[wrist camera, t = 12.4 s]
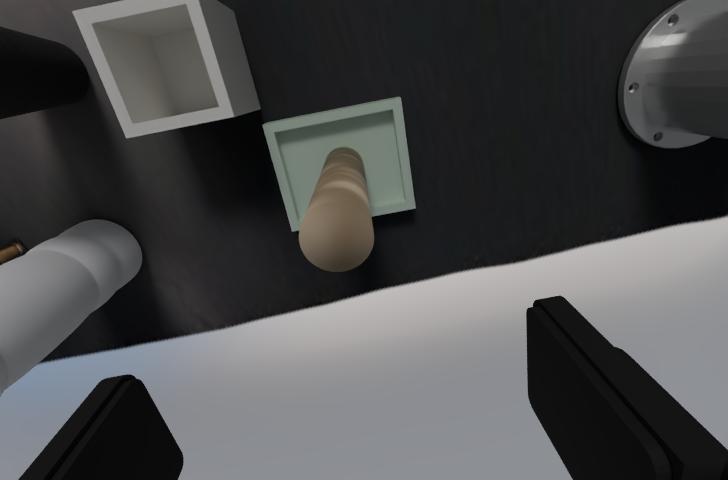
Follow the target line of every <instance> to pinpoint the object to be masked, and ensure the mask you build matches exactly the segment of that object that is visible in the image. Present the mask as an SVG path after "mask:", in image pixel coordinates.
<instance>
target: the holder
mask: <svg viewBox="0 0 728 480" xmlns="http://www.w3.org/2000/svg"><path fill="white" fill-rule="evenodd" d="M72 12H73V14H74V17H75V19H76V21H77V24H78V26H79V28H80V31H81V33H82V35H83V38H84V40H85V42H86V45H87V47H88V49H89V52H90V54H91V57H92V59H93V61H94V64H95V66H96V68H97V71H98V73H99V75H100V78H101V80H102V82H103V85H104V87H105V89H106V92H107V94H108V96H109V99H110V101H111V103H112V106H113V108H114V110H115V113H116V115H117V118H118V120H119V122H120V125H121V127H122V129H123V132H124V134H125V136H126V138H130V137H135V136H141V135H146V134H151V133H156V132H161V131H166V130H171V129H176V128H181V127H186V126H191V125H196V124H201V123H206V122H211V121H216V120H221V119H226V118H231V117H236V116H239V115H243V114H246V113H249V112H253V111H256V110H260V109H261V108H260V104H259V101H258V97H257V94H256V90H255V86H254V83H253V79H252V75H251V72H250V68H249V65H248V61H247V57H246V54H245V50H244V47H243V43H242V39H241V36H240V32H239V29H238V25H237V21H236V18H235V14H234V11H232V10H231V9H229V8H228V7H226V6H225V5H223V4H222V3H220V2H218V1H217V0H123V1H119V2H114V3H109V4H104V5H99V6H95V7H90V8H85V9H80V10H76V11H72Z"/></svg>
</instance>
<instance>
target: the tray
mask: <svg viewBox="0 0 728 480" xmlns="http://www.w3.org/2000/svg"><path fill="white" fill-rule="evenodd" d="M262 126H263V129H264V133H265V136H266V140H267V144H268V147H269V151H270V154H271V158H272V161H273V165H274V169H275V172H276V176H277V179H278V183H279V186H280V190H281V194H282V197H283V201H284V204H285V208H286V211H287V215H288V219H289V222H290V226H291V229H292V232H293V231H298V230H300V226H301V224H302V221H303V218H304V216H305V213H306V211H307V208H308V205H309V203H310V200H311V197H312V195H313V192H314V189H315V187H316V184H317V182H318V179H319V176H320V174H321V171H322V168H323V166H324V163H325V160H326V158H327V156H328V154H329V153H330V152H331V151H332V150H334V149H335V148H338V147H350V148H353V149H354V150H356V151H357V152H358V153H359V154H360V156H361V157H362V160H363V164H364V171H365V177H366V184H367V191H368V197H369V204H370V211H371V217H373V216H378V215H383V214H389V213H394V212H399V211H404V210H410V209H415V208H416V207H415V200H414V192H413V185H412V177H411V170H410V163H409V155H408V148H407V140H406V133H405V125H404V118H403V110H402V103H401V97H394V98H389V99H384V100H379V101H373V102H368V103H363V104H358V105H353V106H348V107H343V108H338V109H333V110H328V111H323V112H318V113H313V114H308V115H302V116H297V117H292V118H287V119H282V120H277V121H272V122H267V123H265V124H263V125H262Z"/></svg>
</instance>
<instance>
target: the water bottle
mask: <svg viewBox="0 0 728 480" xmlns="http://www.w3.org/2000/svg"><path fill="white" fill-rule="evenodd" d="M141 265H142V252H141V248H140V246H139V244H138V242H137V240H136V239H135V238H134V236H133V235H132V234H131V233H130V232H129V231H127V230H126V229H125V228H123V227H122V226H120V225H118V224H116V223H113V222H110V221H107V220H100V219H94V220H87V221H84V222H81V223H79V224H77V225H75V226H73V227H71V228H69V229H68V230H66V231H65V232H63V233H62V234H60V235H59V236H58V237H55V238H52V239H49V240H47V241H45V242H43V243H41V244H39V245H37V246H36V247H34V248H33V249H31V250H30V251H28V252H27V253H26V254H25V255H23V256H21V257H18V258H16V259H13V260H11V261H9V262H7V263H4V264H2V265H0V396H1V394H2V393H3V391H4V390H5V389H7V388H8V387H9V386H11V385H12V384H13V383H15V382H16V381H17V380H18V379H20V378H21V377H22V376H23V375H25V374H26V373H27V372H28V371H30V370H31V369H32V368H33V367H34V366H36V365H37V364H38V363H39V362H40V361H41V360H43V359H44V358H45V357H46V356H47V355H48V354H49V353H50V352H52V351H53V350H54V349H55V348H56V347H57V346H58V345H59V344H60V343H61V342H63V341H64V340H65V339H66V338H67V337H68V336H69V335H70V334H71V333H72V332H73V331H74V330H75V329H76V328H77V327H78V326H79V325H80V324H81V323H82V322H83V321H84V320H85V319H86V318H87V316H88V315H89V314H90V313H91V312H93V311H95V310H96V309H98V308H99V307H101V306H102V305H103V304H104V303H105V302H107V301H108V300H109V299H110V298H111V297H112V295H113V294H114V293H115V292H116V291H117V290H118V289H120V288H121V287H123V286H124V285H125V284H127V283H128V282H129V281H130V280H131V279H132V278H133V277H134V276H135V275H136V274H137V273H138V271H139V270H140V267H141Z"/></svg>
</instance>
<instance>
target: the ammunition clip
mask: <svg viewBox="0 0 728 480" xmlns="http://www.w3.org/2000/svg"><path fill="white" fill-rule="evenodd" d="M27 252H28V250H27V249H26V248H25V246H24V245H23V244H22V243H21V242H20V241H19V240H18V238H14V239H12V240H10V241H7V242H5V243H3V244H1V245H0V265H2V264H4V263H7V262H9V261H11V260H13V259H16V258H18V257H21V256H23V255H25V254H26V253H27Z"/></svg>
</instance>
